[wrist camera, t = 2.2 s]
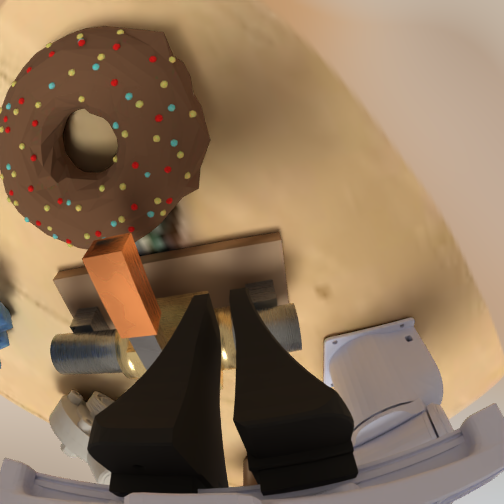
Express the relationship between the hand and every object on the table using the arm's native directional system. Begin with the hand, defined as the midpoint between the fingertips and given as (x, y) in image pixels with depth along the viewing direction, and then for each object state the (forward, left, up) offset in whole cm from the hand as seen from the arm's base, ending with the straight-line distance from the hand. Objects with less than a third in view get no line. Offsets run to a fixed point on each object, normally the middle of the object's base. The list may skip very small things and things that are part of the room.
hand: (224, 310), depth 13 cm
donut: (+6, -7, -11) cm, 14 cm away
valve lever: (+4, +3, -3) cm, 6 cm away
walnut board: (+6, +7, -10) cm, 14 cm away
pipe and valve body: (+5, +7, -9) cm, 13 cm away
